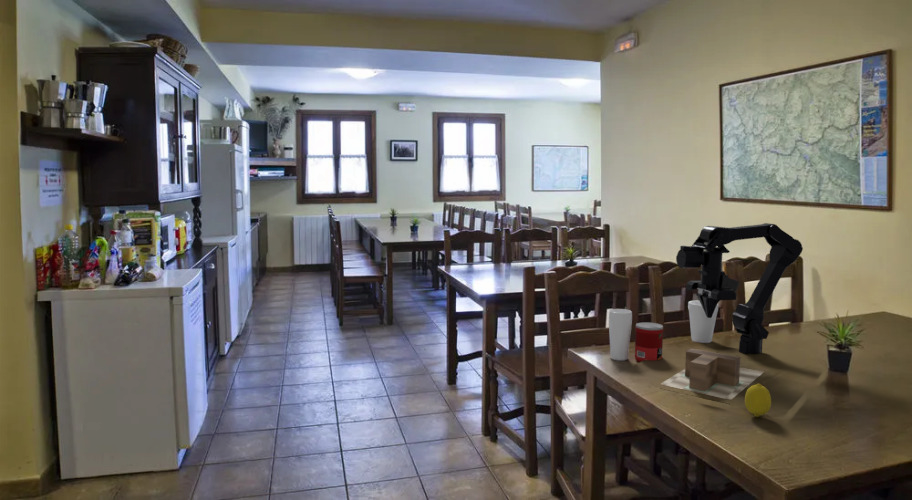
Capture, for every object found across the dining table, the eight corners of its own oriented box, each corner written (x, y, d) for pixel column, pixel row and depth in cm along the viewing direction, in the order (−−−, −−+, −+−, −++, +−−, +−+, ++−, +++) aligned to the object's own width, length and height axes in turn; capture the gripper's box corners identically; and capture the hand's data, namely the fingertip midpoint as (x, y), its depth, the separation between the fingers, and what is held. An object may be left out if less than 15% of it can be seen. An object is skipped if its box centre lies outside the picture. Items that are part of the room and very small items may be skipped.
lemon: (739, 412, 149) (741, 380, 148) (761, 412, 150) (763, 379, 149) (752, 421, 144) (754, 388, 143) (775, 421, 144) (777, 387, 143)
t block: (690, 372, 176) (691, 348, 175) (739, 382, 167) (740, 357, 166) (672, 384, 166) (673, 358, 165) (723, 395, 157) (724, 368, 157)
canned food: (663, 364, 187) (664, 328, 186) (635, 363, 189) (636, 327, 187) (660, 357, 195) (661, 322, 193) (633, 356, 196) (634, 321, 195)
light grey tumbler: (631, 356, 195) (632, 309, 194) (629, 362, 189) (631, 314, 187) (608, 354, 198) (610, 308, 196) (606, 360, 191) (608, 312, 189)
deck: (699, 363, 188) (699, 359, 188) (763, 376, 176) (764, 371, 176) (659, 388, 166) (660, 384, 166) (730, 404, 155) (730, 399, 154)
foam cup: (685, 336, 220) (687, 299, 219) (714, 337, 218) (716, 301, 216) (688, 343, 211) (689, 305, 210) (717, 345, 209) (719, 306, 207)
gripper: (754, 271, 184) (751, 323, 185) (718, 262, 202) (716, 310, 204) (719, 272, 182) (716, 325, 184) (686, 263, 200) (684, 311, 202)
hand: (709, 317), depth 193 cm, fingers closed
